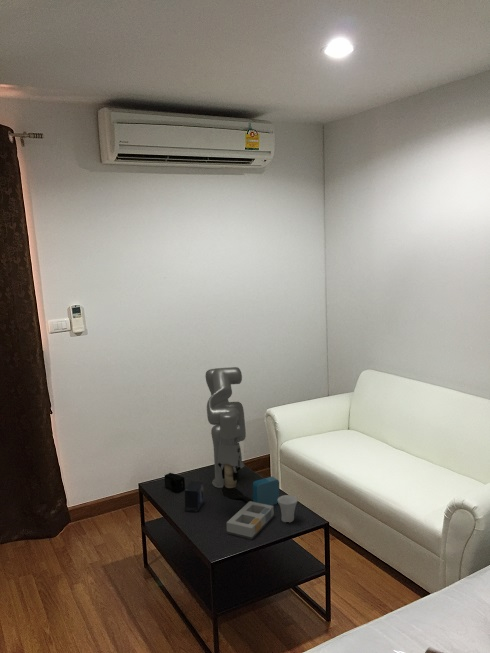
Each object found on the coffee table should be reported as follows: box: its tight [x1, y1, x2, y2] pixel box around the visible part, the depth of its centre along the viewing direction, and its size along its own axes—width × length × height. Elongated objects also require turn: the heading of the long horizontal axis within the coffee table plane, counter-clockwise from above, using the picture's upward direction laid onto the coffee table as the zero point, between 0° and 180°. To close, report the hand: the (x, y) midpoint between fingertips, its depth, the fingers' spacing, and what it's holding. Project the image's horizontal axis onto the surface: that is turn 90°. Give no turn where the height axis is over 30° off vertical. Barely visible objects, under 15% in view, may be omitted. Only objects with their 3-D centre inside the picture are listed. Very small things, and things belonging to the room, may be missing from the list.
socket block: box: [226, 501, 275, 540], centre depth 233 cm, size 22×12×5 cm, turn 152°
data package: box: [252, 476, 280, 506], centre depth 251 cm, size 12×4×12 cm, turn 119°
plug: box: [224, 464, 237, 488], centre depth 241 cm, size 5×5×12 cm
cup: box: [277, 494, 299, 523], centre depth 236 cm, size 9×9×10 cm
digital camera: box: [164, 472, 186, 494], centre depth 271 cm, size 10×5×7 cm, turn 50°
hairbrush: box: [221, 485, 253, 504], centre depth 259 cm, size 8×4×25 cm
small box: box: [184, 480, 205, 513], centre depth 251 cm, size 11×6×10 cm, turn 168°
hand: (230, 478), depth 241 cm, fingers closed on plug, 4 cm apart
